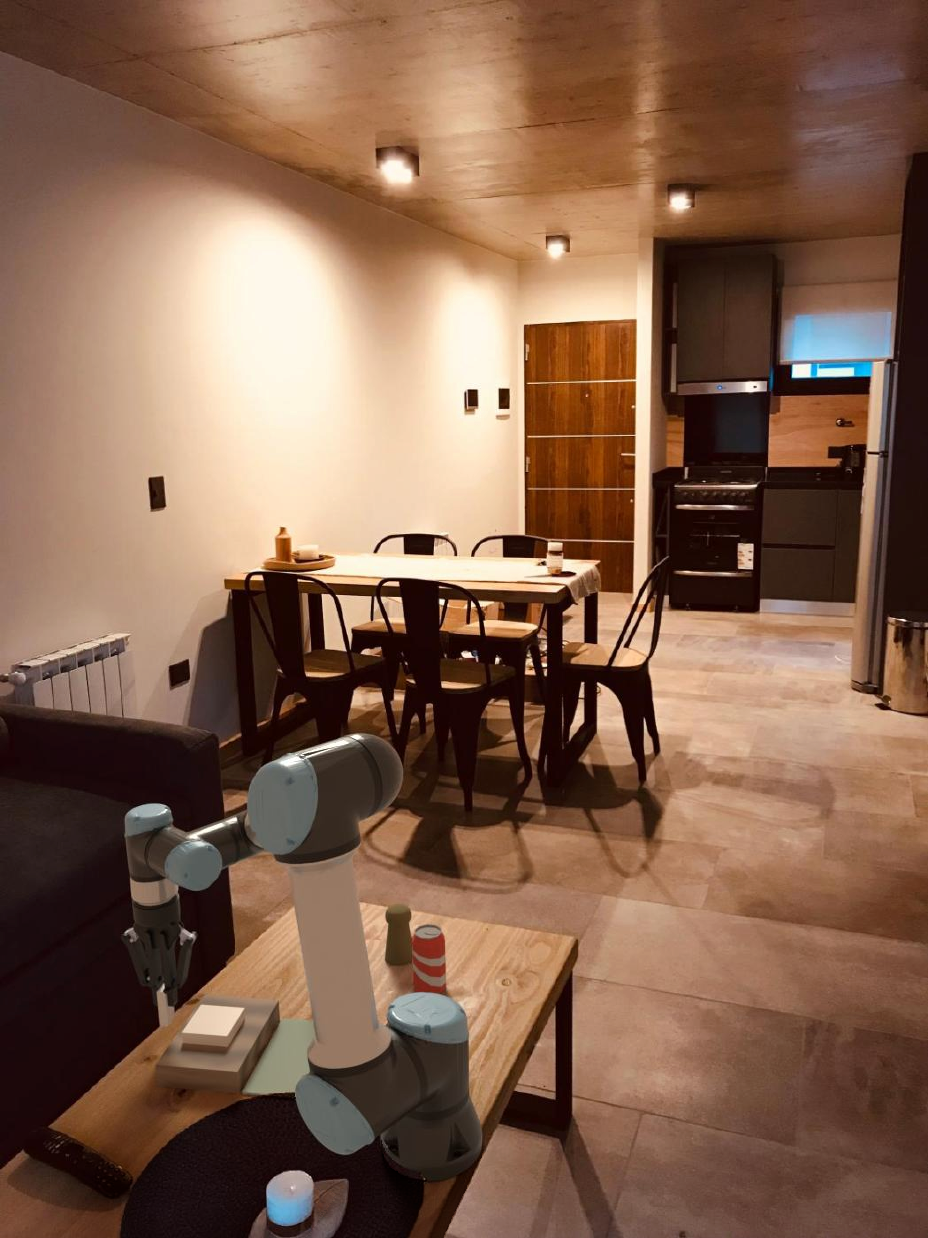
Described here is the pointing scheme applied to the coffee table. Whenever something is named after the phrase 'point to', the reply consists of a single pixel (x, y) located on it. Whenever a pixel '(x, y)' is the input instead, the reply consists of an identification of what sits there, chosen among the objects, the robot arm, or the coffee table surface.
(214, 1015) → the coaster
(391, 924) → the pepper mill
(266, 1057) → the mat
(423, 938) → the beverage can
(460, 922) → the coffee table surface
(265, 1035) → the tan flat block
